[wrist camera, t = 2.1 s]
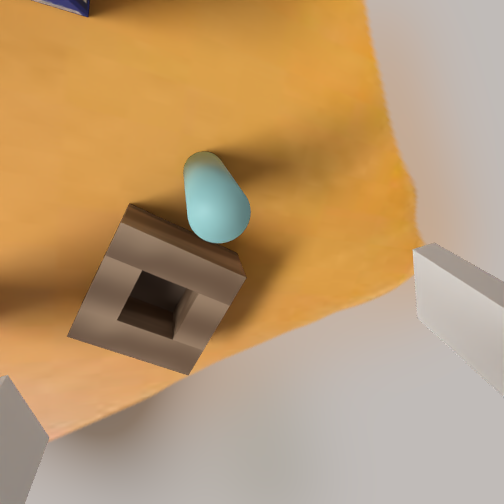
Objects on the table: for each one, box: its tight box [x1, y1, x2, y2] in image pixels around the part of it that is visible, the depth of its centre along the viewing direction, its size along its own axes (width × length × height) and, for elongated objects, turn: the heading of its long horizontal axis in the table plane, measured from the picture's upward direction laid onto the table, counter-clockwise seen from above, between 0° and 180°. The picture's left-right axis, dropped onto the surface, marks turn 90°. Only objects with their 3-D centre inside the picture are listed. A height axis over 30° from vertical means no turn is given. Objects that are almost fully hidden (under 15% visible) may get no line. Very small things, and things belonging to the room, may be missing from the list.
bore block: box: [67, 203, 246, 375], centre depth 37 cm, size 12×12×6 cm
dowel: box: [183, 151, 251, 243], centre depth 30 cm, size 4×4×14 cm
